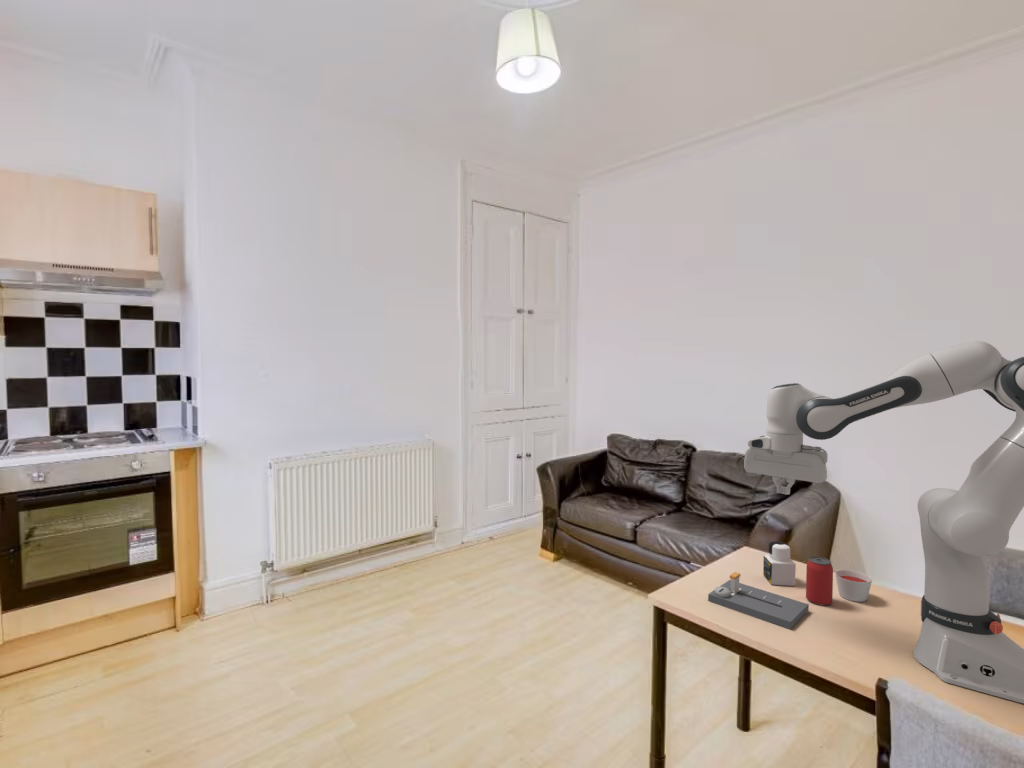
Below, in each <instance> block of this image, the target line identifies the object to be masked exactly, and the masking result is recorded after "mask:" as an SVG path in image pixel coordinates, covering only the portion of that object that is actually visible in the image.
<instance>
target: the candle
mask: <svg viewBox="0 0 1024 768" xmlns="http://www.w3.org/2000/svg"><path fill="white" fill-rule="evenodd" d="M834 574H835V578H836V579H835V580H836V584H837V591H838V595H839V596H840V597H842V598H843V599H845V600H847V601H851V602H857V603H862V602H863V603H864V602H866V601H867V600H868V597H869V594H870V590H871V587H872V583H873V578H872V577H871V576H870V575H868V574H866V573H865V572H861V571H858V570H851V569H837V570H836V571H835V572H834Z"/></svg>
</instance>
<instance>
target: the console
mask: <svg viewBox="0 0 1024 768" xmlns="http://www.w3.org/2000/svg"><path fill="white" fill-rule="evenodd" d="M707 595H708V596H707V601H708V602H711V603H713V604H716V605H719V606H721V607H723V608H728V609H731V610H733V611H737V612H739V613H741V614H745V615H748V616H750V617H753V618H756V619H758V620H759V619H760V620H762V621H765V622H767V623H771V624H773V625H776V626H779V627H782V628H785V629H786V630H787V629H788V630H792V628H793V627H794V626H795V625H797V624H798V623H799V622H800V621H801V619H802V618H803V617H805V616H806V614H807V613H809V610H810V609H809V608H810V607H809V603H806V602H802V601H799V600H797V599H793V598H790V597H786V596H783V595H779V594H776V593H773V592H770V591H767V590H763V589H762V588H761V589H760V588H758V587H754V586H750V585H748V584H744V583H741V582H739V590H738V591H737V592H735V593H733V592H731V579H729V580H726V582H725V583H724V582H723V584H721V585H720V586H716V587H715V588H714V589H713V590H712V591H710V592H709V593H708V594H707Z"/></svg>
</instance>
